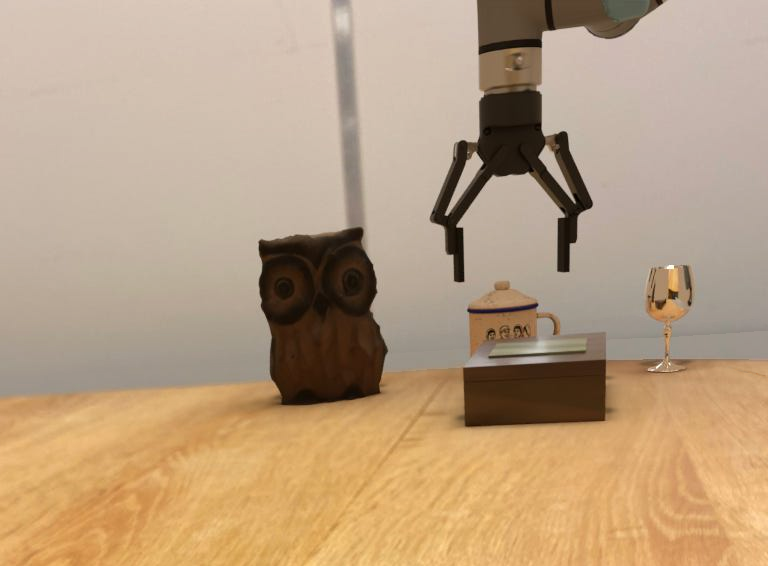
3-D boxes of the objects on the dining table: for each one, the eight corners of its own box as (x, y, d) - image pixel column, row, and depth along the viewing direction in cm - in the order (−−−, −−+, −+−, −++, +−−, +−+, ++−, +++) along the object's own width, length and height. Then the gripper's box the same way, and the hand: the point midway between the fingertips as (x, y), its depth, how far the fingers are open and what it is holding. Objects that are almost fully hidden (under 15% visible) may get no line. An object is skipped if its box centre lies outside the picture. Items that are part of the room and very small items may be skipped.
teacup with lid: (475, 381, 137) (473, 286, 132) (463, 372, 145) (460, 282, 141) (568, 372, 136) (569, 277, 132) (551, 363, 145) (551, 273, 141)
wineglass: (688, 364, 133) (692, 263, 129) (693, 371, 128) (698, 266, 124) (640, 367, 135) (643, 267, 130) (643, 374, 130) (646, 271, 125)
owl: (394, 391, 136) (384, 224, 129) (327, 409, 128) (313, 232, 120) (321, 387, 144) (309, 230, 137) (255, 404, 136) (237, 239, 129)
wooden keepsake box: (485, 390, 130) (484, 338, 128) (604, 383, 126) (605, 330, 124) (464, 426, 110) (462, 365, 108) (605, 420, 107) (606, 357, 104)
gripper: (414, 98, 124) (421, 287, 132) (622, 79, 126) (617, 268, 133) (402, 104, 131) (410, 284, 139) (600, 87, 133) (596, 266, 140)
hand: (511, 277), depth 136 cm, fingers open, 13 cm apart
